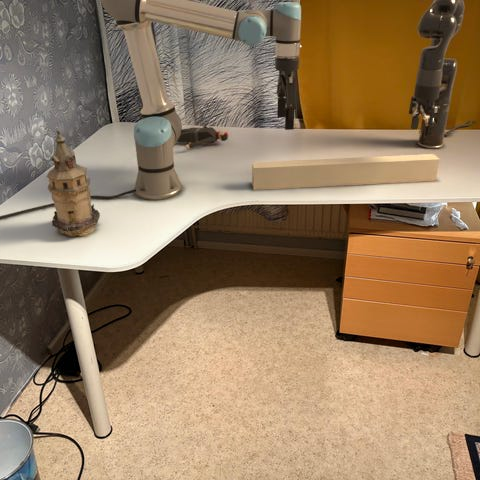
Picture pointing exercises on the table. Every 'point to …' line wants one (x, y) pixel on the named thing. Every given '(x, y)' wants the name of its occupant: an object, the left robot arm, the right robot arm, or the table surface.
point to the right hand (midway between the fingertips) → (420, 132)
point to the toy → (201, 136)
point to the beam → (344, 171)
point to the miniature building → (70, 193)
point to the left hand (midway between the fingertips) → (285, 123)
